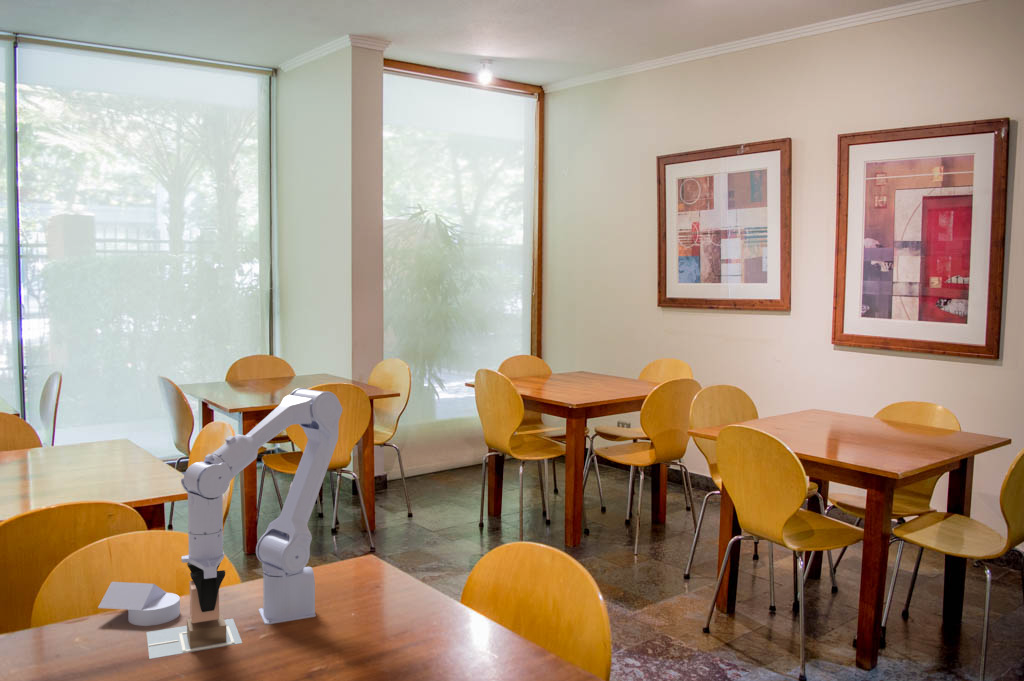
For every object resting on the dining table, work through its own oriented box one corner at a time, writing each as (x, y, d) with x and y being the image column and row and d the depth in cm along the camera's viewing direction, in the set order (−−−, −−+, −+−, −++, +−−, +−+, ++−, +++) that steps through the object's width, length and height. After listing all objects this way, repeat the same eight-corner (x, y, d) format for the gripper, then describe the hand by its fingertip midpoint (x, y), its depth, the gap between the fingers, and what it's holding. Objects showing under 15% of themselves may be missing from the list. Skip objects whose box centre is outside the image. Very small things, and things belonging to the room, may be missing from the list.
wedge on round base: (98, 625, 151) (164, 629, 150) (97, 590, 151) (164, 593, 149) (125, 607, 160) (188, 610, 159) (125, 573, 159) (188, 576, 158)
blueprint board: (233, 620, 154) (232, 617, 154) (242, 645, 143) (242, 642, 143) (146, 634, 147) (146, 631, 147) (149, 661, 136) (149, 657, 136)
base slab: (222, 629, 149) (221, 613, 149) (226, 642, 143) (226, 625, 143) (186, 635, 146) (186, 618, 146) (189, 648, 141) (189, 631, 140)
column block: (216, 609, 147) (216, 577, 147) (219, 618, 143) (218, 585, 143) (190, 614, 145) (189, 581, 145) (192, 623, 141) (191, 589, 141)
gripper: (178, 522, 148) (178, 595, 149) (184, 544, 135) (185, 624, 136) (218, 518, 151) (219, 589, 152) (229, 539, 139) (229, 617, 139)
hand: (206, 605), depth 144 cm, fingers closed on column block, 4 cm apart
